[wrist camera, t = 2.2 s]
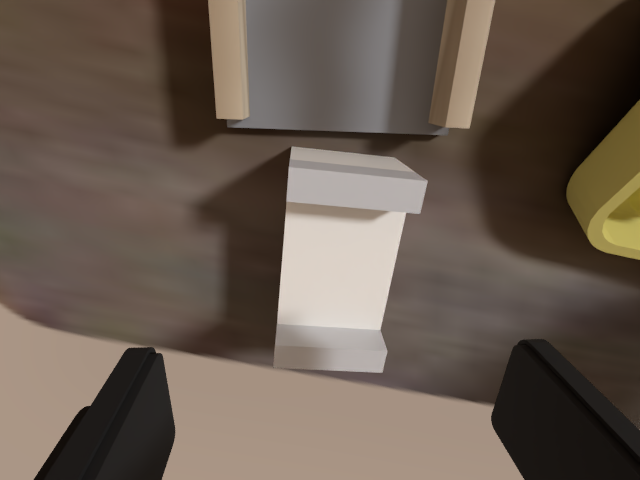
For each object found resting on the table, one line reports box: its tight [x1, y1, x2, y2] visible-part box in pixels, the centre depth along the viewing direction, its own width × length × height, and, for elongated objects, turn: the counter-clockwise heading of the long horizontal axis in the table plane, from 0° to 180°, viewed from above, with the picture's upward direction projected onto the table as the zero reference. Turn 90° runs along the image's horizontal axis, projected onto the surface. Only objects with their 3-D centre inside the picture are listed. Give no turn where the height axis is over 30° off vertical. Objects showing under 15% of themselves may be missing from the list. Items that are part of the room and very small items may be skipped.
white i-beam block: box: [273, 147, 428, 373], centre depth 16 cm, size 5×9×5 cm, turn 173°
